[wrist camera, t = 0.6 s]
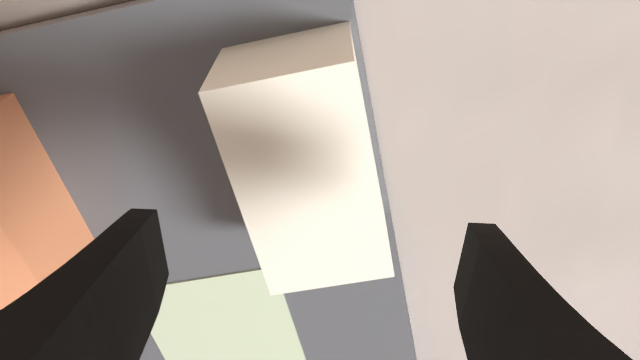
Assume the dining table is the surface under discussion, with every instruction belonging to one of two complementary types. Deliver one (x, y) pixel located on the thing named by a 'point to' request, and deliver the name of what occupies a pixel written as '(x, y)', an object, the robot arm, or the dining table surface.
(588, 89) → the dining table surface
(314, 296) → the baseplate
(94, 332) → the robot arm
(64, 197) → the terracotta brick
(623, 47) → the dining table surface
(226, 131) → the cream brick
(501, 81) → the dining table surface
